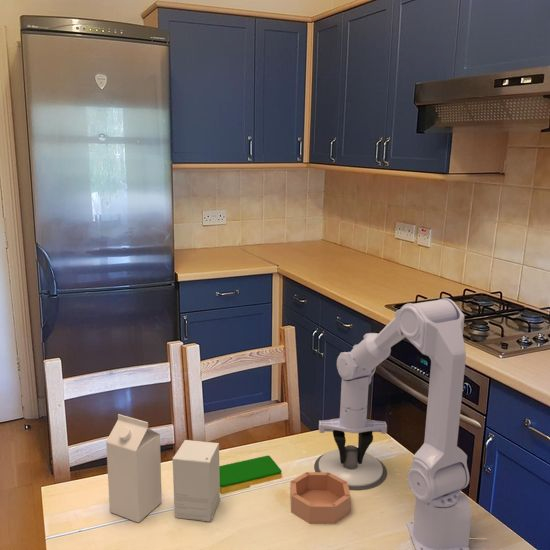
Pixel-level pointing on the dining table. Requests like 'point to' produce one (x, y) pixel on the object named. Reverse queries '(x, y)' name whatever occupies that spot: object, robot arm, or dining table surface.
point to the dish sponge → (247, 473)
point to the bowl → (320, 498)
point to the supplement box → (196, 480)
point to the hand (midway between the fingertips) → (350, 461)
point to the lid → (352, 467)
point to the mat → (382, 479)
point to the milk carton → (133, 468)
